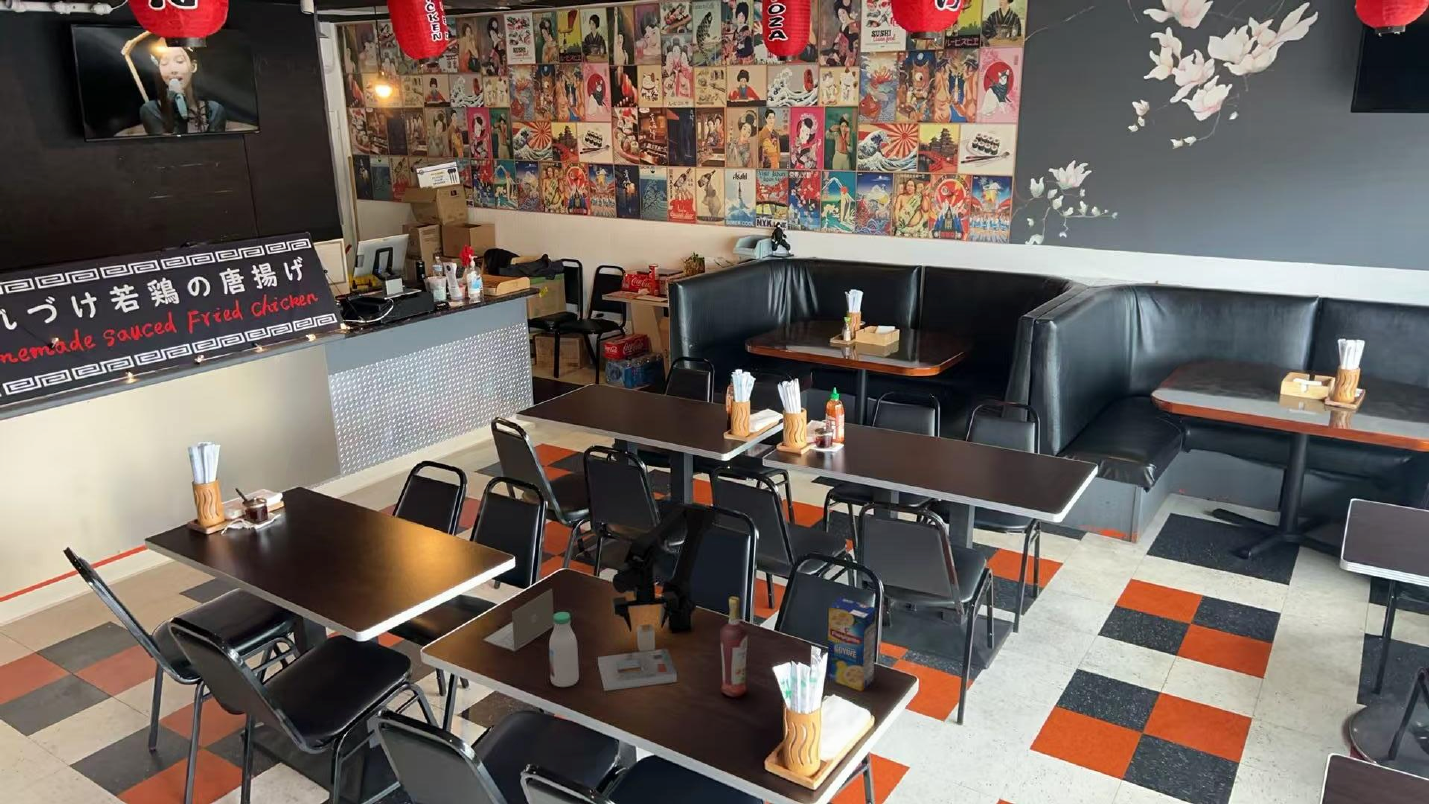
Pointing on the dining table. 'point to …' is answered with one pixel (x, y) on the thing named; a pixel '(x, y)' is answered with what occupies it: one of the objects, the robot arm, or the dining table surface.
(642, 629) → the plug
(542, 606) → the laptop
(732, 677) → the liquor
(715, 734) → the dining table surface
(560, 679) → the milk bottle
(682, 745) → the dining table surface
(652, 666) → the switch plate
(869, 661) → the beverage box
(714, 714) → the dining table surface
